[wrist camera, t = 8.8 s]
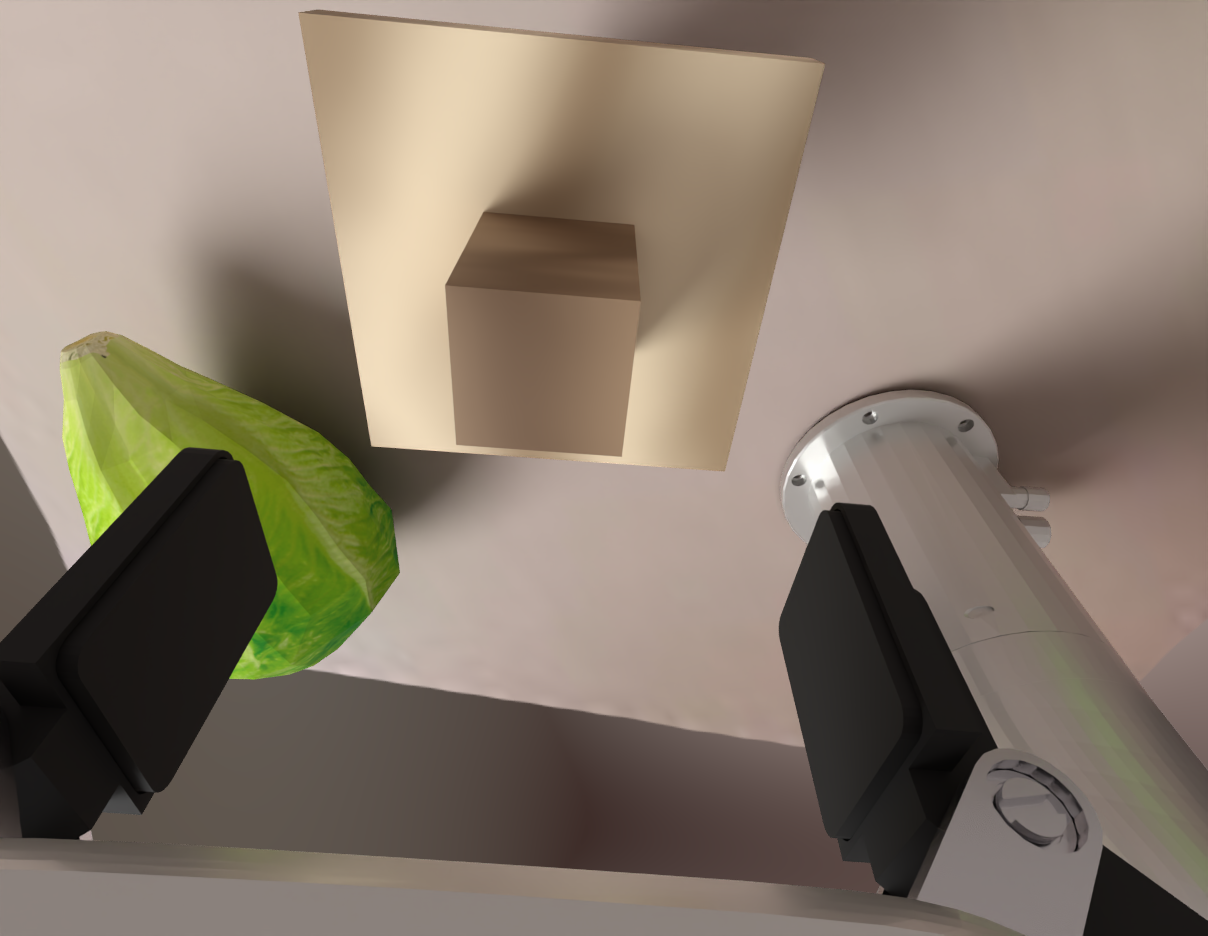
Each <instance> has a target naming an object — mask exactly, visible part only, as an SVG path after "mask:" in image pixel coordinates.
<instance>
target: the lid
mask: <svg viewBox="0 0 1208 936" xmlns="http://www.w3.org/2000/svg"><path fill="white" fill-rule="evenodd" d="M299 19H300V25H301V31H302V36H303V42H304V48H305V54H306V60H307V66H308V72H309V78H310V84H311V90H312V96H313V102H314V108H315V114H316V120H317V126H318V132H319V138H320V144H321V150H322V155H323V161H324V167H325V173H326V179H327V185H328V191H329V197H330V203H331V209H332V215H333V221H334V227H335V233H336V239H337V245H338V251H339V257H340V263H341V268H342V274H343V280H344V286H345V292H346V298H347V304H348V310H349V316H350V322H351V328H352V334H353V340H354V346H355V352H356V358H357V364H358V370H359V376H360V382H361V387H362V393H363V399H364V405H365V411H366V417H367V423H368V429H369V435H370V441H371V446H374V447H388V448H402V449H416V450H431V451H445V452H459V453H473V454H487V455H501V456H515V457H529V458H543V459H557V460H571V461H586V462H600V463H614V464H628V465H642V466H656V467H670V468H684V469H698V470H712V471H725V468H726V464H727V460H728V456H729V452H730V448H731V444H732V440H733V436H734V432H735V428H736V424H737V420H738V415H739V411H740V407H741V403H742V399H743V395H744V391H745V387H746V383H747V379H748V375H749V371H750V367H751V363H752V359H753V355H754V351H755V346H756V342H757V338H758V334H759V330H760V326H761V322H762V318H763V314H764V310H765V306H766V302H767V298H768V294H769V290H770V286H771V282H772V277H773V273H774V269H775V265H776V261H777V257H778V253H779V249H780V245H781V241H782V237H783V233H784V229H785V225H786V221H787V217H788V213H789V209H790V204H791V200H792V196H793V192H794V188H795V184H796V180H797V176H798V172H799V168H800V164H801V160H802V156H803V152H804V148H805V144H806V140H807V135H808V131H809V127H810V123H811V119H812V115H813V111H814V107H815V103H816V99H817V95H818V91H819V87H820V83H821V79H822V75H823V71H824V66H825V64H824V63H822V62H820V61H818V60H815V59H813V58H806V57H796V56H785V55H775V54H765V53H755V52H745V51H734V50H724V49H714V48H704V47H693V46H683V45H673V44H663V43H653V42H642V41H632V40H622V39H612V38H602V37H591V36H581V35H571V34H561V33H551V32H540V31H530V30H520V29H510V28H500V27H489V26H479V25H469V24H459V23H449V22H438V21H428V20H418V19H408V18H398V17H387V16H377V15H367V14H357V13H347V12H336V11H326V10H312V11H305V12H299Z"/></svg>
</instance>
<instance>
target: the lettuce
mask: <svg viewBox="0 0 1208 936" xmlns="http://www.w3.org/2000/svg"><path fill="white" fill-rule="evenodd" d="M60 374H61V381H62V388H63V395H64V411H63V434H62V438H63V443H64V447H65V452H66V457H67V461H68V466H69V470H70V474H71V477H72V480H73V483H74V486H75V490H76V493H77V496H78V499H79V503H80V506H81V509H82V513H83V516H84V520H85V524H86V528H87V532H88V536H89V539H90V543H91V546H92V545H93V543H94V542H95V541H96V540H97V539H98V538H99V537H100V536H101V535H102V534H103V533H104V532H105V531H106V530H107V529H108V527H109V526H110V525H111V524H112V523H113V522H114V521H115V520H116V519H117V518H118V517H119V516H120V515H121V514H122V513H123V512H124V510H125V509H126V508H127V507H128V506H129V505H130V504H131V503H132V502H133V501H134V500H135V499H136V498H137V497H138V496H139V495H140V493H141V492H142V491H143V490H144V489H145V488H146V487H147V486H148V485H149V484H150V483H151V482H152V481H153V480H154V479H155V477H156V476H157V475H158V474H159V473H160V472H161V471H162V470H163V469H164V468H165V467H166V466H167V465H168V464H169V463H170V462H171V460H172V459H173V458H174V457H175V456H176V455H177V454H178V453H179V452H180V451H181V450H183V449H184V448H188V447H194V448H206V449H218V450H225V451H228V452H229V453H230V454H231V455H232V457H233V459H234V460H237V461H240V462H241V463H242V464H243V466H244V469H245V472H246V476H247V479H248V482H249V485H250V489H251V492H252V495H253V499H254V502H255V505H256V509H257V512H258V515H259V519H260V522H261V525H262V528H263V532H264V535H265V538H266V542H267V545H268V548H269V552H270V555H271V558H272V562H273V565H274V568H275V571H276V575H277V580H278V585H277V591H276V595H275V597H274V600H273V602H272V603H271V605H270V607H269V609H268V610H267V612H266V614H265V616H264V618H263V619H262V621H261V623H260V625H259V626H258V628H257V630H256V632H255V633H254V635H253V637H252V639H251V641H250V642H249V644H248V646H247V648H246V649H245V651H244V653H243V655H242V657H241V658H240V660H239V662H238V664H237V665H236V667H235V669H234V671H233V672H232V674H231V676H230V679H259V678H267V677H274V676H281V675H289V674H292V673H295V672H298V671H300V670H303V669H306V668H308V667H311V666H314V665H315V664H317V663H318V662H320V661H321V660H322V659H324V658H325V657H327V656H328V655H330V654H331V653H333V652H334V651H335V650H337V649H338V648H339V647H340V646H341V645H342V644H343V643H344V642H345V641H346V639H347V638H348V637H349V636H350V635H351V634H352V633H353V632H354V631H355V630H356V629H357V628H358V627H359V626H360V624H361V623H362V622H363V621H364V620H365V619H366V618H367V617H368V616H369V615H370V614H371V612H372V611H373V610H374V608H375V607H376V605H377V604H378V603H379V601H380V600H381V598H382V597H383V596H384V594H385V593H386V591H387V590H388V589H389V587H390V586H391V584H392V583H393V582H394V580H395V579H396V577H397V576H398V575H399V573H400V570H399V562H398V555H397V547H396V539H395V532H394V524H393V516H392V510H391V509H390V507H389V506H388V505H387V504H386V503H385V502H384V501H383V500H382V499H381V497H380V496H379V495H378V494H377V493H376V492H375V491H374V490H373V489H372V488H371V486H370V485H369V484H368V483H367V481H366V480H365V479H364V477H363V476H362V475H361V473H360V472H359V471H358V470H357V468H356V467H355V466H354V464H353V463H352V462H351V461H350V459H349V458H348V457H347V456H345V455H344V454H343V453H342V452H341V451H340V450H338V449H337V448H336V447H335V446H334V445H333V444H331V443H330V442H329V441H328V440H327V439H325V438H324V437H323V436H322V435H321V434H320V433H318V432H316V431H315V430H313V429H311V428H309V427H307V426H305V425H303V424H302V423H300V422H298V421H296V420H294V419H292V418H290V417H288V416H287V415H285V414H283V413H281V412H279V411H277V410H275V409H274V408H272V407H270V406H268V405H266V404H264V403H262V402H260V401H258V400H256V399H254V398H251V397H249V396H247V395H245V394H242V393H240V392H238V391H236V390H234V389H231V388H229V387H227V386H225V385H223V384H220V383H218V382H216V381H214V380H212V379H209V378H207V377H205V376H202V375H200V374H198V373H196V372H193V371H191V370H189V369H186V368H184V367H182V366H180V365H178V364H176V363H174V362H172V361H170V360H168V359H166V358H165V357H163V356H161V355H159V354H157V353H155V352H153V351H151V350H150V349H148V348H146V347H143V346H142V345H140V344H138V343H136V342H134V341H132V340H130V339H128V338H126V337H124V336H122V335H118V334H115V333H111V332H107V331H105V332H98V333H93V334H90V335H88V336H86V337H84V338H83V339H80V340H78V341H76V342H74V343H72V344H70V345H68V346H66V347H65V348H64V349H62V351H61V357H60Z"/></svg>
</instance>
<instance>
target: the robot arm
mask: <svg viewBox="0 0 1208 936" xmlns="http://www.w3.org/2000/svg"><path fill="white" fill-rule="evenodd" d="M998 462H999V456H998V448H997V443H996V440H995V438H994V436H993V434H992V431H991V429H990V428H989V427H988V426H987V424H986V423H985V422H984V420H983V419H982V418H981V417H980V415H978V414H977V413H976V412H975V411H974V410H973V409H972V408H971V407H970V406H968V405H967V404H965V403H963V402H961V401H959V400H958V399H956V398H954V397H952V396H948V395H944V394H941V393H937V392H934V391H923V390H901V391H890V392H885V393H881V394H877V395H873V396H868V397H866V398H863V399H861V400H858V401H856V402H853V403H850V404H848V405H846V406H844V407H842V408H841V409H839V410H837V411H835V412H834V413H832V414H830V415H828V416H827V417H825V418H824V419H823V420H822V421H820V422H819V423H818V424H817V425H815V426H814V427H813V428H811V429H810V430H809V432H808V433H807V434H806V435H805V436H804V437H803V438H802V439H801V440H800V441H799V442H798V443H797V445H796V446H795V448H794V450H793V451H792V453H791V454H790V456H789V457H788V459H787V462H786V464H785V467H784V469H783V472H782V475H781V482H780V498H781V505H782V508H783V511H784V514H785V517H786V520H787V521H788V523H789V525H790V527H791V529H792V530H793V531H794V533H795V534H796V535H797V536H798V537H799V538H800V539H801V540H802V541H803V542H805V543H806V544H808V546H807V548H806V551H805V553H804V556H803V559H802V561H801V564H800V567H799V569H798V572H797V574H796V577H795V580H794V582H793V585H792V588H791V590H790V593H789V595H788V598H787V601H786V603H785V606H784V609H783V611H782V614H781V617H780V621H779V637H780V642H781V646H782V651H783V655H784V659H785V663H786V668H787V672H788V676H789V680H790V684H791V689H792V693H793V697H794V701H795V705H796V710H797V714H798V718H799V722H800V727H801V731H802V735H803V739H804V743H805V748H806V752H807V756H808V760H809V764H810V769H811V773H812V777H813V781H814V785H815V790H816V794H817V798H818V802H819V807H820V811H821V815H822V819H823V823H824V826H825V830H826V832H827V834H828V835H829V836H830V837H832V838H838V843H839V847H840V850H841V855H842V859H843V861H852V862H867V863H871V867H872V870H873V874H874V877H875V880H876V882H877V883H878V884H879V885H880V887H879V889H878V891H877V893H876V894H874V893H867V892H859V891H852V890H841V889H829V888H818V887H807V886H795V885H784V884H772V883H761V882H750V881H737V880H723V879H707V878H694V877H680V876H679V877H678V876H665V875H651V874H637V873H636V874H635V873H622V872H608V871H607V872H606V871H593V870H579V869H563V868H549V867H534V866H518V865H503V864H488V863H472V862H457V861H441V860H425V859H409V858H394V857H378V856H362V855H346V854H329V853H314V852H297V851H296V852H295V851H280V850H264V849H247V848H230V847H228V848H227V847H213V846H196V845H180V844H163V843H141V842H117V841H93V840H92V834H91V829H92V827H93V826H94V824H95V823H96V821H97V819H98V818H99V816H100V815H101V813H102V812H107V813H123V814H138V815H141V814H142V813H143V812H144V810H145V808H146V806H147V804H148V803H149V801H150V800H151V798H152V796H153V794H154V793H155V792H161V791H163V790H164V789H165V788H166V787H167V786H168V785H169V783H170V782H171V780H172V779H173V777H174V775H175V773H176V772H177V770H178V768H179V766H180V765H181V763H182V761H183V759H184V758H185V756H186V754H187V752H188V750H189V749H190V747H191V745H192V743H193V741H194V740H195V738H196V736H197V734H198V733H199V731H200V729H201V727H202V726H203V724H204V722H205V720H206V719H207V717H208V715H209V713H210V711H211V710H212V708H213V706H214V704H215V703H216V701H217V699H218V697H219V696H220V694H221V692H222V690H223V688H224V687H225V685H226V683H227V681H228V679H229V678H230V676H231V674H232V672H233V671H234V669H235V667H236V665H237V664H238V662H239V660H240V658H241V657H242V655H243V653H244V651H245V649H246V648H247V646H248V644H249V642H250V641H251V639H252V637H253V635H254V633H255V632H256V630H257V628H258V626H259V625H260V623H261V621H262V619H263V618H264V616H265V614H266V612H267V610H268V609H269V607H270V605H271V603H272V602H273V600H274V597H275V595H276V591H277V585H278V580H277V575H276V571H275V568H274V565H273V562H272V558H271V555H270V552H269V548H268V545H267V542H266V538H265V535H264V532H263V528H262V525H261V522H260V519H259V515H258V512H257V509H256V505H255V502H254V499H253V495H252V492H251V489H250V485H249V482H248V479H247V476H246V472H245V469H244V466H243V464H242V463H241V462H240V461H237V460H234V459H233V457H232V455H231V454H230V453H229V452H228V451H225V450H218V449H206V448H194V447H188V448H184V449H183V450H181V451H180V452H179V453H178V454H177V455H176V456H175V457H174V458H173V459H172V460H171V462H170V463H169V464H168V465H167V466H166V467H165V468H164V469H163V470H162V471H161V472H160V473H159V474H158V475H157V476H156V477H155V479H154V480H153V481H152V482H151V483H150V484H149V485H148V486H147V487H146V488H145V489H144V490H143V491H142V492H141V493H140V495H139V496H138V497H137V498H136V499H135V500H134V501H133V502H132V503H131V504H130V505H129V506H128V507H127V508H126V509H125V510H124V512H123V513H122V514H121V515H120V516H119V517H118V518H117V519H116V520H115V521H114V522H113V523H112V524H111V525H110V526H109V527H108V529H107V530H106V531H105V532H104V533H103V534H102V535H101V536H100V537H99V538H98V539H97V540H96V541H95V542H94V543H93V545H92V546H91V547H90V548H89V549H88V550H87V551H86V552H85V553H84V554H83V555H82V556H81V557H80V558H79V559H78V560H77V562H76V563H75V564H74V565H73V566H72V567H71V568H70V569H69V570H68V571H67V572H66V573H65V574H64V575H63V576H62V578H61V579H60V580H59V581H58V582H57V583H56V584H55V585H54V586H53V587H52V588H51V589H50V590H49V591H48V592H47V594H46V595H45V596H44V597H43V598H42V599H41V600H40V601H39V602H38V603H37V604H36V605H35V606H34V607H33V609H31V611H30V612H29V613H28V614H27V615H26V616H25V617H24V618H23V619H22V620H21V621H20V622H19V623H18V624H17V625H16V627H15V628H14V629H13V630H12V631H11V632H10V633H9V634H8V635H7V636H6V637H5V638H4V639H3V640H2V641H1V642H0V936H1208V770H1207V768H1206V767H1205V766H1204V765H1203V763H1202V762H1201V761H1200V760H1199V758H1198V757H1197V756H1196V755H1195V753H1194V752H1193V751H1192V750H1191V748H1190V747H1189V746H1188V745H1187V743H1186V742H1185V741H1184V740H1183V738H1182V737H1181V736H1180V734H1179V733H1178V732H1177V731H1176V729H1175V728H1174V727H1173V726H1172V724H1171V723H1170V722H1169V720H1168V719H1167V718H1166V717H1165V715H1164V714H1163V713H1162V712H1161V710H1160V709H1159V708H1158V707H1157V705H1156V704H1155V703H1154V701H1153V700H1152V699H1151V698H1150V696H1149V695H1148V693H1147V692H1146V691H1145V689H1144V688H1143V687H1142V685H1141V684H1140V683H1139V681H1138V680H1137V678H1136V677H1135V676H1134V674H1133V673H1132V672H1131V670H1130V669H1129V668H1128V666H1127V665H1126V664H1125V662H1124V661H1123V659H1122V658H1121V657H1120V656H1119V654H1118V653H1117V652H1116V650H1115V649H1114V648H1113V646H1112V645H1111V644H1110V642H1109V641H1108V639H1107V638H1106V637H1105V635H1104V634H1103V633H1102V631H1101V630H1100V629H1099V627H1098V626H1097V625H1096V623H1095V622H1094V620H1093V619H1092V618H1091V616H1090V615H1089V614H1088V612H1087V611H1086V610H1085V608H1084V607H1083V606H1082V604H1081V603H1080V601H1079V600H1078V599H1077V597H1076V596H1075V595H1074V593H1073V592H1072V591H1071V589H1070V588H1069V586H1068V585H1067V584H1066V582H1065V581H1064V580H1063V578H1062V577H1061V576H1060V574H1059V573H1058V572H1057V570H1056V569H1055V567H1054V566H1053V565H1052V563H1051V562H1050V561H1049V559H1048V558H1047V557H1046V555H1045V554H1044V553H1043V551H1042V550H1041V548H1044V547H1046V546H1047V544H1048V543H1049V542H1050V538H1051V527H1050V524H1049V522H1048V521H1047V520H1046V519H1045V518H1043V517H1031V516H1018V515H1016V514H1015V513H1014V512H1013V510H1012V509H1011V508H1017V509H1019V510H1028V511H1044V510H1045V509H1047V508H1048V505H1049V503H1050V495H1049V493H1048V491H1047V490H1046V489H1044V488H1036V487H1010V485H1009V484H1008V483H1007V482H1006V481H1005V479H1004V478H1003V477H1002V475H1001V474H1000V473H999V472H998V470H997V469H998Z"/></svg>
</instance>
